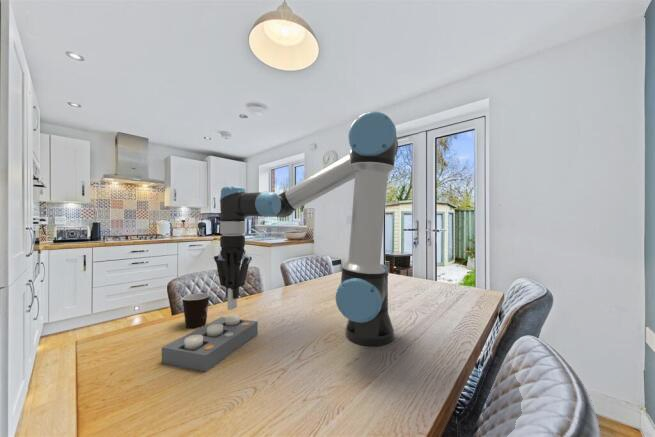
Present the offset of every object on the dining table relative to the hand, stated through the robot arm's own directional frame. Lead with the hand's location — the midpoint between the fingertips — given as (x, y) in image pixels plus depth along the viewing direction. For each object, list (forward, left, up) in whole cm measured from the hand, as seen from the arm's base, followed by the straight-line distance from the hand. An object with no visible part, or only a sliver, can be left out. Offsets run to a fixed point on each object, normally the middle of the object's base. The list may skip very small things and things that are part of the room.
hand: (232, 308), depth 86 cm
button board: (0, +8, -9) cm, 12 cm away
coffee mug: (+18, -5, -9) cm, 21 cm away
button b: (0, +8, -5) cm, 9 cm away
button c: (0, +16, -5) cm, 17 cm away
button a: (0, 0, -5) cm, 5 cm away
